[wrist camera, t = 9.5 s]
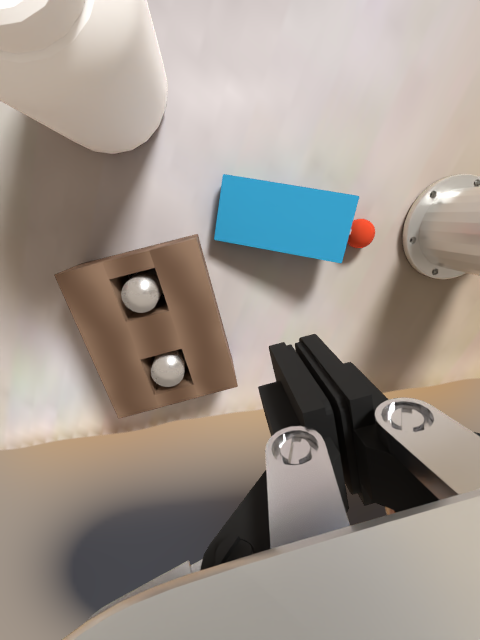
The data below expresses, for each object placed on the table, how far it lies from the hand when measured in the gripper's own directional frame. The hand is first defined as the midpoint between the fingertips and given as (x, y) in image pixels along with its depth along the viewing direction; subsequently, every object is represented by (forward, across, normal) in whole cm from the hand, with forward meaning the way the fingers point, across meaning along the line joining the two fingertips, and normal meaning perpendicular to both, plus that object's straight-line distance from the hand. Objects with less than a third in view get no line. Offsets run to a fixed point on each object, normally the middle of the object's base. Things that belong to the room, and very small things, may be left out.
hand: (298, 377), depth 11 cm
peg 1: (+29, +10, 0) cm, 31 cm away
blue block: (+30, -9, -2) cm, 31 cm away
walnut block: (+29, +10, +4) cm, 31 cm away
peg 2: (+29, +10, +9) cm, 32 cm away
